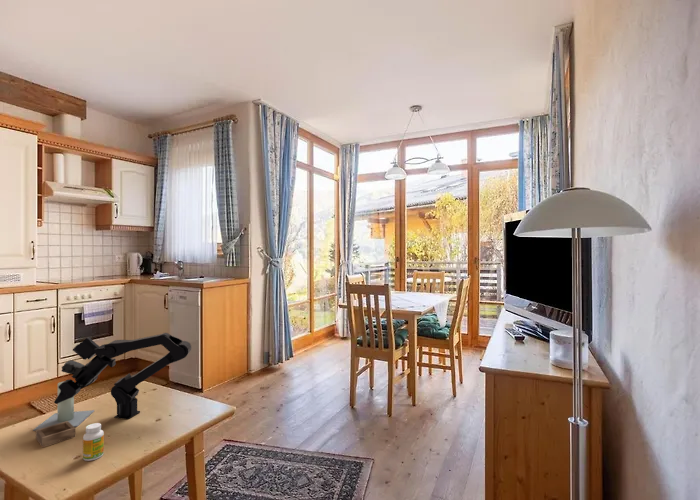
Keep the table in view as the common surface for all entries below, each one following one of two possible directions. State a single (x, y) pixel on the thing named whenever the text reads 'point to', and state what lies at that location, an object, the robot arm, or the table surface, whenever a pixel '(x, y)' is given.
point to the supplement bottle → (93, 442)
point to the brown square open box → (55, 433)
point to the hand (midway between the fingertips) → (62, 398)
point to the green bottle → (65, 408)
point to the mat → (75, 422)
